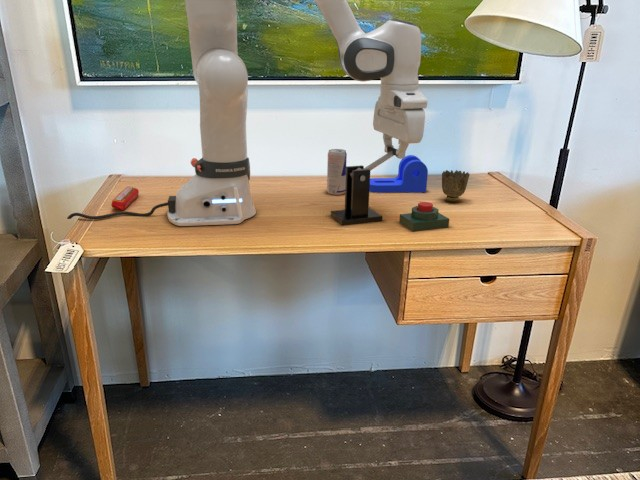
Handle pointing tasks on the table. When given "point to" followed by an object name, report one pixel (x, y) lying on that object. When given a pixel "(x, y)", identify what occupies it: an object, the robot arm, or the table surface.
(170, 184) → the table surface
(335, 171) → the energy drink
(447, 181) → the cup
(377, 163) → the lever
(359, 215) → the bracket
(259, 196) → the table surface
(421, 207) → the button
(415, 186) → the bracket
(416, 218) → the button block
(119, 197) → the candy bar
